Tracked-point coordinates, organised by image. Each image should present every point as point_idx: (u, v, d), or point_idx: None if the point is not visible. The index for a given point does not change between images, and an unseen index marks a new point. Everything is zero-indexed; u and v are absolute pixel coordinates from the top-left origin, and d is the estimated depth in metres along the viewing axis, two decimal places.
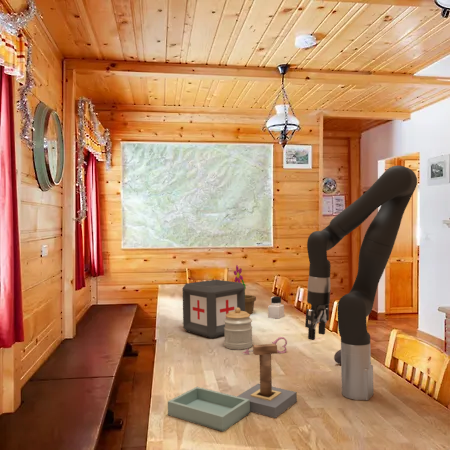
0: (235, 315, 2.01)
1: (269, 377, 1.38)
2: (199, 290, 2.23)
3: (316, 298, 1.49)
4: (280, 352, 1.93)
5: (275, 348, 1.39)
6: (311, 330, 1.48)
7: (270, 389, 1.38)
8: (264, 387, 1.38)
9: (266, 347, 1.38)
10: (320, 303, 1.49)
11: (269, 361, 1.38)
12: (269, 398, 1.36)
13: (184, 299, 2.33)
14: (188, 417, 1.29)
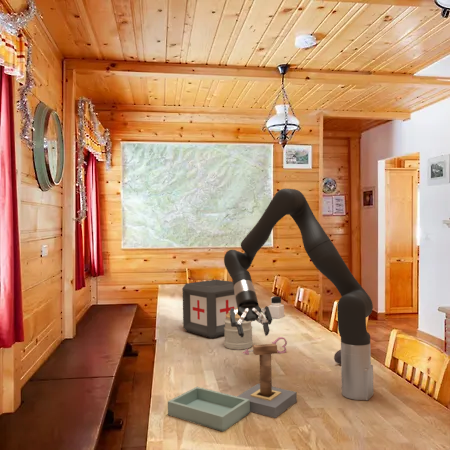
0: None
1: (269, 377, 1.38)
2: (199, 290, 2.23)
3: (237, 300, 1.59)
4: (280, 352, 1.93)
5: (275, 348, 1.39)
6: (237, 327, 1.52)
7: (270, 389, 1.38)
8: (264, 387, 1.38)
9: (266, 347, 1.38)
10: (240, 301, 1.57)
11: (269, 361, 1.38)
12: (269, 398, 1.36)
13: (184, 299, 2.33)
14: (188, 417, 1.29)
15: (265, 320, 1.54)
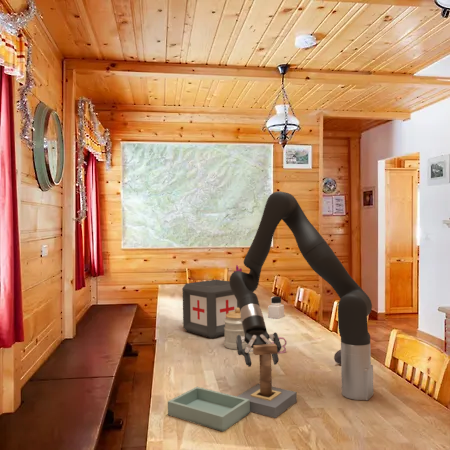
0: (235, 315, 2.01)
1: (269, 377, 1.38)
2: (199, 290, 2.23)
3: (243, 326, 1.50)
4: (279, 352, 1.93)
5: (275, 348, 1.39)
6: (245, 355, 1.43)
7: (270, 389, 1.38)
8: (264, 387, 1.38)
9: (266, 347, 1.38)
10: (247, 327, 1.48)
11: (269, 361, 1.38)
12: (269, 398, 1.36)
13: (184, 299, 2.33)
14: (188, 417, 1.29)
15: None
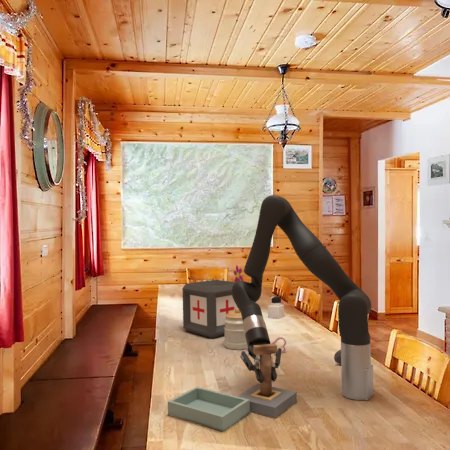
0: (235, 315, 2.01)
1: (269, 377, 1.38)
2: (199, 290, 2.23)
3: (247, 338, 1.46)
4: None
5: (275, 348, 1.39)
6: (256, 371, 1.39)
7: (270, 389, 1.38)
8: (264, 387, 1.38)
9: (266, 347, 1.38)
10: (250, 340, 1.44)
11: (269, 361, 1.38)
12: (269, 398, 1.36)
13: (184, 299, 2.33)
14: (188, 417, 1.29)
15: (272, 364, 1.40)
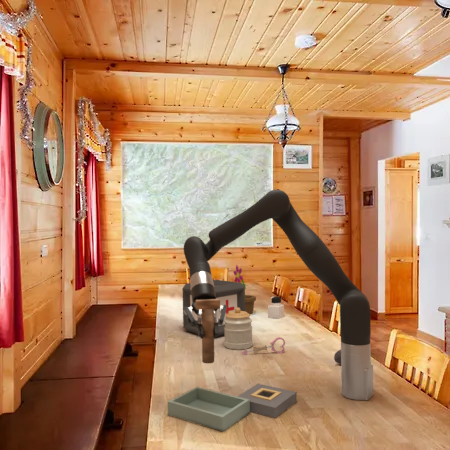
0: (235, 315, 2.01)
1: (211, 333, 1.33)
2: None
3: (192, 294, 1.41)
4: (278, 352, 1.93)
5: (218, 303, 1.33)
6: (197, 327, 1.33)
7: (212, 345, 1.33)
8: (206, 343, 1.32)
9: (208, 301, 1.33)
10: (194, 295, 1.39)
11: (211, 316, 1.33)
12: (269, 398, 1.36)
13: (184, 299, 2.33)
14: (188, 417, 1.29)
15: (215, 320, 1.35)
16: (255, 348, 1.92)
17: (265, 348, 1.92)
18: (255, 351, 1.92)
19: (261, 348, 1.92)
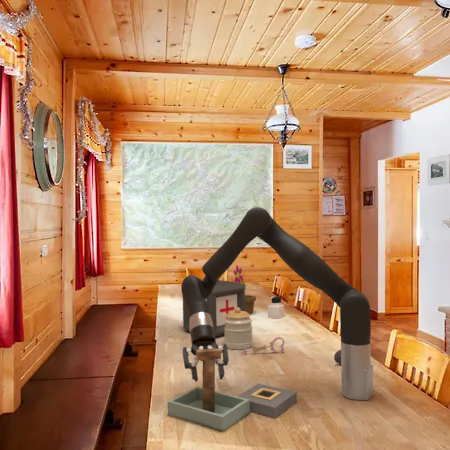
0: (235, 315, 2.01)
1: (212, 383, 1.32)
2: None
3: (191, 336, 1.40)
4: (277, 352, 1.93)
5: (219, 353, 1.33)
6: (191, 369, 1.33)
7: (212, 396, 1.32)
8: (206, 394, 1.32)
9: (209, 352, 1.32)
10: (194, 338, 1.38)
11: (212, 367, 1.32)
12: (269, 398, 1.36)
13: None
14: (188, 417, 1.29)
15: (220, 361, 1.35)
16: (254, 347, 1.92)
17: (264, 348, 1.92)
18: (254, 351, 1.92)
19: (260, 348, 1.92)
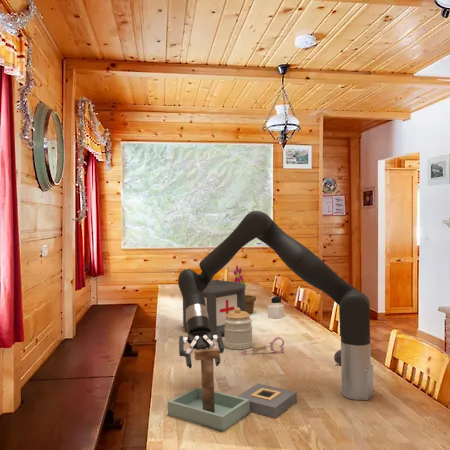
0: (235, 315, 2.01)
1: (211, 383, 1.32)
2: None
3: (187, 326, 1.47)
4: (277, 352, 1.93)
5: (217, 353, 1.33)
6: (186, 357, 1.40)
7: (212, 396, 1.32)
8: (206, 394, 1.32)
9: (207, 352, 1.32)
10: (190, 328, 1.45)
11: (210, 366, 1.32)
12: (269, 398, 1.36)
13: None
14: (188, 417, 1.29)
15: None
16: (254, 348, 1.92)
17: (264, 348, 1.92)
18: (254, 351, 1.92)
19: (260, 348, 1.92)
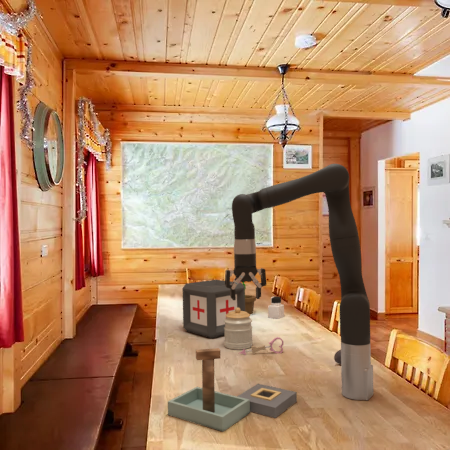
0: (235, 315, 2.01)
1: (211, 383, 1.32)
2: (199, 290, 2.23)
3: (235, 259, 1.53)
4: (276, 352, 1.93)
5: (218, 353, 1.33)
6: (231, 290, 1.53)
7: (212, 396, 1.32)
8: (206, 394, 1.32)
9: (209, 352, 1.32)
10: (237, 264, 1.52)
11: (211, 367, 1.32)
12: (269, 398, 1.36)
13: (184, 299, 2.33)
14: (188, 417, 1.29)
15: (259, 285, 1.55)
16: (253, 348, 1.92)
17: (263, 348, 1.92)
18: (253, 351, 1.92)
19: (259, 348, 1.92)
